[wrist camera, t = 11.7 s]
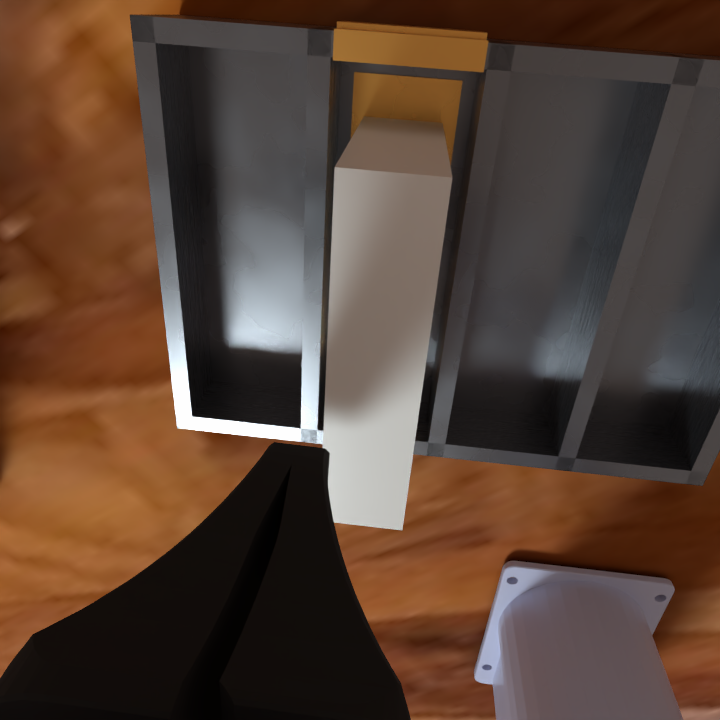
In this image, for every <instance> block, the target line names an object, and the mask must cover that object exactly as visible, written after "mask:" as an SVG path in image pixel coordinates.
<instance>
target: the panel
mask: <svg viewBox="0 0 720 720" xmlns="http://www.w3.org/2000/svg"><path fill="white" fill-rule="evenodd" d="M451 184H452V172H451V167H450V161H449V156H448V150H447V145H446V139H445V134H444V128H443V123H437V122H425V121H413V120H401V119H389V118H377V117H366V116H364V117H363V119H362V121H361V122H360V124H359V126H358V128H357V129H356V131H355V133H354V135H353V136H352V138H351V140H350V141H349V143H348V145H347V147H346V148H345V150H344V152H343V154H342V155H341V157H340V159H339V160H338V162H337V164H336V166H335V170H334V194H333V217H332V241H331V265H330V288H329V312H328V336H327V359H326V383H325V407H324V430H323V448H325V449H326V450H327V451H328V452H329V453H330V458H329V473H328V490H329V498H330V504H331V510H332V516H333V521H334V522H335V523H343V524H352V525H361V526H369V527H378V528H387V529H395V530H402V529H403V522H404V515H405V508H406V501H407V494H408V487H409V479H410V472H411V465H412V458H413V451H414V444H415V437H416V430H417V423H418V416H419V409H420V402H421V395H422V388H423V381H424V374H425V367H426V360H427V353H428V346H429V339H430V332H431V325H432V318H433V311H434V304H435V297H436V290H437V283H438V276H439V269H440V262H441V254H442V247H443V240H444V233H445V226H446V219H447V212H448V205H449V198H450V191H451Z"/></svg>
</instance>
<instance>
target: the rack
mask: <svg viewBox="0 0 720 720" xmlns="http://www.w3.org/2000/svg"><path fill="white" fill-rule="evenodd" d="M130 21H131V30H132V39H133V47H134V56H135V65H136V73H137V82H138V91H139V100H140V108H141V117H142V126H143V134H144V143H145V152H146V160H147V169H148V178H149V187H150V195H151V204H152V213H153V221H154V230H155V239H156V248H157V256H158V265H159V274H160V282H161V291H162V300H163V309H164V317H165V326H166V335H167V343H168V352H169V361H170V369H171V378H172V387H173V396H174V404H175V413H176V422H177V428H181V429H190V430H199V431H209V432H218V433H227V434H236V435H245V436H254V437H263V438H272V439H281V440H290V441H299V442H309V443H318V444H323V430H324V407H325V383H326V359H327V336H328V312H329V288H330V265H331V241H332V217H333V194H334V170H335V166H336V164H337V162H338V160H339V159H340V157H341V155H342V154H343V152H344V150H345V148H346V147H347V145H348V143H349V141H350V140H351V138H352V136H353V135H354V133H355V131H356V129H357V128H358V126H359V124H360V122H361V121H362V119H363V117H364V116H366V117H377V118H389V119H401V120H413V121H425V122H437V123H443V128H444V134H445V139H446V145H447V150H448V156H449V161H450V167H451V172H452V184H451V191H450V198H449V205H448V212H447V219H446V226H445V233H444V240H443V247H442V254H441V262H440V269H439V276H438V283H437V290H436V297H435V304H434V311H433V318H432V325H431V332H430V339H429V346H428V353H427V360H426V367H425V374H424V381H423V388H422V395H421V402H420V409H419V416H418V423H417V430H416V437H415V444H414V451H413V454H418V455H427V456H436V457H445V458H454V459H463V460H472V461H481V462H491V463H500V464H509V465H518V466H527V467H536V468H545V469H554V470H563V471H572V472H582V473H591V474H600V475H609V476H618V477H627V478H636V479H645V480H654V481H663V482H672V483H682V484H691V485H700V486H703V484H704V482H705V480H706V478H707V476H708V474H709V471H710V469H711V467H712V465H713V463H714V461H715V459H716V457H717V455H718V453H719V451H720V56H707V55H694V54H681V53H668V52H655V51H642V50H629V49H616V48H603V47H590V46H577V45H564V44H551V43H538V42H525V41H512V40H499V39H487V33H486V32H482V31H473V30H460V29H447V28H434V27H421V26H408V25H395V24H382V23H369V22H356V21H337V27H331V26H318V25H305V24H292V23H279V22H266V21H253V20H241V19H228V18H215V17H202V16H189V15H130Z"/></svg>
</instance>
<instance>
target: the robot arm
mask: <svg viewBox="0 0 720 720" xmlns="http://www.w3.org/2000/svg"><path fill="white" fill-rule="evenodd" d="M329 458H330V453H329V452H328V451H327V450H326V449H325V448H317V447H309V446H300V445H292V444H284V443H276V442H274V443H273V444H271V445H270V446H269V447H268V449H267V450H266V451H265V453H264V454H263V455H262V457H261V458H260V459H259V461H258V462H257V463H256V464H255V466H254V467H253V468H252V469H251V471H250V472H249V473H248V474H247V475H246V477H245V478H244V479H243V480H242V481H241V482H240V483H239V484H238V486H237V487H236V488H235V489H234V490H233V491H232V492H231V493H230V494H229V496H228V497H227V498H226V499H225V500H224V501H223V502H222V503H221V504H220V505H219V506H218V507H217V508H216V509H215V510H214V511H213V512H212V513H211V514H210V515H209V516H208V517H207V518H206V519H205V520H204V521H203V522H202V523H201V524H200V525H199V526H197V527H196V528H195V529H194V530H193V531H192V532H191V533H190V534H189V535H187V536H186V537H185V538H184V539H183V540H182V541H180V542H179V543H178V544H177V545H176V546H174V547H173V548H172V549H171V550H170V551H168V552H167V553H166V554H164V555H163V556H162V557H160V558H159V559H158V560H156V561H155V562H154V563H152V564H151V565H150V566H148V567H147V568H146V569H144V570H143V571H142V572H140V573H139V574H137V575H136V576H134V577H133V578H132V579H130V580H129V581H127V582H125V583H124V584H122V585H121V586H119V587H118V588H116V589H114V590H113V591H111V592H110V593H108V594H106V595H105V596H103V597H102V598H100V599H98V600H97V601H95V602H94V603H92V604H90V605H88V606H87V607H85V608H83V609H81V610H80V611H78V612H76V613H74V614H72V615H70V616H68V617H66V618H64V619H62V620H60V621H58V622H56V623H55V624H53V625H51V626H49V627H47V628H45V629H43V630H41V631H39V632H37V633H35V634H33V635H32V636H31V637H30V639H29V640H28V641H27V643H26V644H25V645H24V647H23V648H22V649H21V650H20V651H19V653H18V654H17V655H16V656H15V658H14V659H13V660H12V662H11V663H10V665H9V666H8V667H7V669H6V670H5V672H4V674H3V675H2V677H1V678H0V720H411V719H410V715H409V711H408V707H407V704H406V700H405V697H404V693H403V690H402V686H401V683H400V681H399V679H398V678H397V676H396V674H395V673H394V671H393V669H392V668H391V666H390V664H389V662H388V661H387V659H386V657H385V655H384V653H383V652H382V650H381V648H380V646H379V644H378V642H377V640H376V638H375V636H374V634H373V632H372V630H371V628H370V626H369V624H368V621H367V619H366V617H365V615H364V612H363V610H362V608H361V606H360V603H359V601H358V599H357V596H356V594H355V591H354V589H353V586H352V583H351V581H350V578H349V575H348V572H347V569H346V566H345V563H344V560H343V557H342V553H341V550H340V546H339V542H338V538H337V534H336V530H335V526H334V521H333V516H332V510H331V504H330V498H329V490H328V473H329ZM510 577H513V578H510ZM674 591H675V588H674V586H673V584H672V582H671V581H670V580H669V579H666V578H659V577H650V576H642V575H633V574H625V573H616V572H608V571H599V570H591V569H582V568H574V567H565V566H556V565H548V564H539V563H531V562H522V561H509V562H507V563H505V564H504V566H503V568H502V572H501V576H500V579H499V583H498V586H497V590H496V594H495V597H494V601H493V605H492V608H491V612H490V615H489V619H488V623H487V626H486V630H485V634H484V637H483V641H482V644H481V648H480V652H479V655H478V659H477V663H476V666H475V670H474V676H475V679H476V681H478V682H480V683H486V684H493V691H494V701H495V710H496V720H683V718H682V715H681V712H680V710H679V707H678V704H677V701H676V699H675V696H674V693H673V691H672V688H671V685H670V682H669V680H668V677H667V674H666V672H665V669H664V666H663V664H662V661H661V658H660V655H659V653H658V650H657V647H656V645H655V642H654V639H653V636H652V635H653V633H654V631H655V629H656V627H657V625H658V623H659V621H660V619H661V617H662V615H663V613H664V611H665V609H666V607H667V605H668V603H669V601H670V599H671V597H672V595H673V593H674Z"/></svg>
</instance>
